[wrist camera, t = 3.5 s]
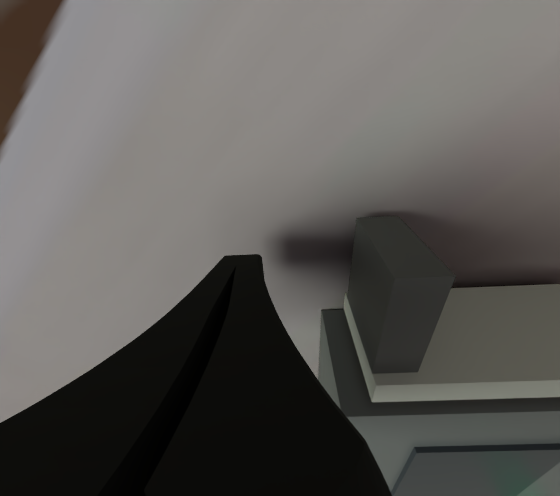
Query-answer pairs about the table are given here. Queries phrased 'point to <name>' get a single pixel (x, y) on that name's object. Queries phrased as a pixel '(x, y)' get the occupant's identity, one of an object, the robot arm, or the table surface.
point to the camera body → (444, 432)
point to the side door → (444, 325)
